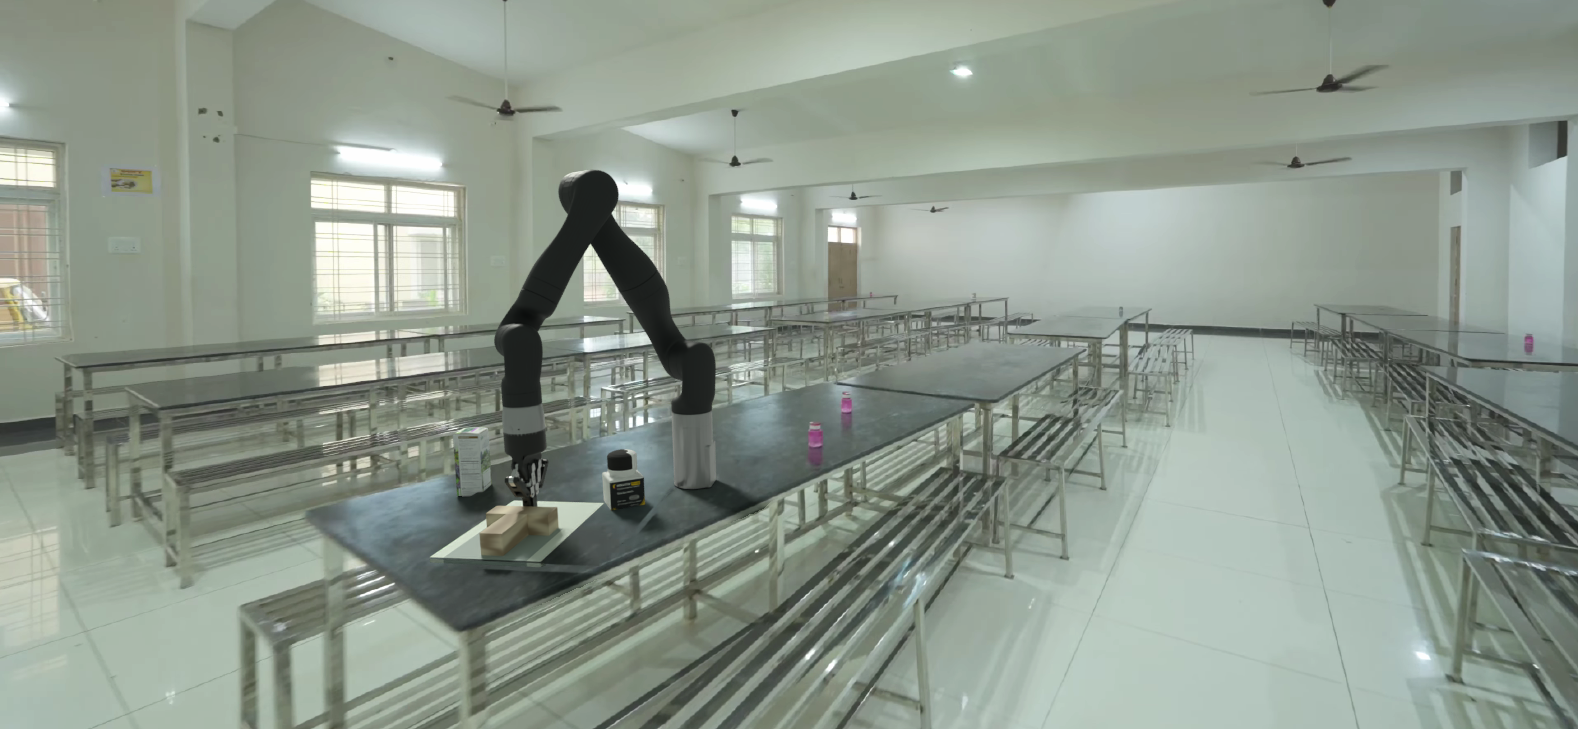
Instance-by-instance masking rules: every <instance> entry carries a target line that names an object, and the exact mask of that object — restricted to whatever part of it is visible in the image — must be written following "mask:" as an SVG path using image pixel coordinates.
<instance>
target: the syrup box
mask: <svg viewBox="0 0 1578 729" xmlns="http://www.w3.org/2000/svg"><path fill="white" fill-rule="evenodd" d="M452 442H453V456H454V458H453V459H454V471H455V485H456V496H457V497H458V496H462V497H471V496H474V495H475V494H477V493H483V492H485V491H486V490H487V489H488V488H489V487H490V486H492V484H493V483H492V480H493V479H492V465H491V464H492V463H491V450H490V434H489V428H488V427H481V426H479V427H478V426H473V427H470V426H469V427H463V428H461V429H460V430H458V431H456V432H454V433H453V434H452Z"/></svg>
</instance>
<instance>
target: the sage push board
mask: <svg viewBox="0 0 1578 729" xmlns="http://www.w3.org/2000/svg"><path fill="white" fill-rule="evenodd" d="M604 504H605V502H583V501H582V502H581V501H579V502H578V501H577V502H576V501H575V502H574V501H548V500H546V501H545V500H544V501H543V500H537V507H557V509H558V525H559V527H558V528H557V529H556V530H555V531H554V532H553V533H552V534H550V535H549V536H545V535H528V536H527V537H526V538H524V539H523V540H522V541H521V542H519V543H518V544H517V545H516V546H515V547H513V548H512V549H511V550H510V551H509V552H507V553H506V554H505V555H504V556H490V555H481V547H480V535H479V533H480V532H482V531H483V530H485V529H486V528H487V523H486V519H484V520H482V521H481V522H480V523H478V524H477V525H475V526H473V527H472V528H471V529H469V530H468V531H466V532H464V533H463V534H461V535H460V536H459V537H457V538H456V539H455V540H453V541H451V542H450V543H449V544H447V545H446V546H444V547H443V548H441V549H440V550H438V551H437V552H435V553H434V554H432V555H431V556H430V558H429V563H433V564H453V565H455V564H456V565H475V566H476V565H478V566H481V565H483V566H501V565H502V566H504V567H505V566H506V567H528V568H531V567H533V568H541V567H543V566H544V565H545V564H546V563H544V562H543V563H542V561H543V560H545V558H546V557H547V556H549V555H550V554H551V553H552V552H553V551H554V550H555V549H556V548H557V547H559V545H561V544H562V543H563V542H564V541H565V540H566V539H567V538H568V537H569V536H571V535H572V533H574V532H575V531H576V530H578V528H579V527H581V525H583V523H584V522H586V521H587V520H588V519H589V518H590V517H591V516H592V515H593V514H594V513H595V512H596V511H597V510H599V509H600V508H601V507H602V506H603V505H604ZM505 506H523V501H522V500H517V499H516V500H515V499H514V500H513V501H511V502H509V503H508V504H507V505H505ZM502 566H501V567H502Z"/></svg>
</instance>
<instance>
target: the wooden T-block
mask: <svg viewBox="0 0 1578 729" xmlns="http://www.w3.org/2000/svg"><path fill="white" fill-rule="evenodd" d="M485 520H486V523H487V528H486V529H485V530H483V531H482V532H480V533H479V535H480V547H481V555H490V556H504V555H505V554H506V553H507V552H509V551H510V550H511V549H512V548H513V547H515V546H516V545H517V544H518V543H519V542H521V541H522V540H523V539H524V538H526V537H527V536H528V535H545V536H549V535H550V534H552V533H553V532H554V531H555V530H556V529H557V528H558V527H559V525H558V509H557V507H531V506H506V505H496V506H495V507H493V508H492V509H490V510H488V511H487V512H485Z"/></svg>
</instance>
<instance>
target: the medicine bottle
mask: <svg viewBox="0 0 1578 729" xmlns="http://www.w3.org/2000/svg"><path fill="white" fill-rule="evenodd" d="M606 465H607V471H603V472H601V473H602V474H601V475H602V477H601V478H602V492H603V501H604V504H606V506H607V507H608V508H609V510H610V511H616V510H622V509H629V508H633V507H638V506H639V507H640V506H644V505H646V496H645V494H646V493H645V476H644V475H643V474H642V473H641V472H640V471H639V470H638V453H637V452H636V451H635V450H632V449H630V448H629V449H626V448H621V449H616V450H612V451H611V452H608V453H607V455H606Z"/></svg>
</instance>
